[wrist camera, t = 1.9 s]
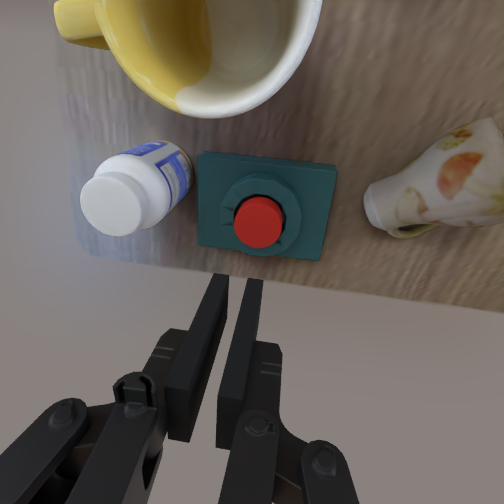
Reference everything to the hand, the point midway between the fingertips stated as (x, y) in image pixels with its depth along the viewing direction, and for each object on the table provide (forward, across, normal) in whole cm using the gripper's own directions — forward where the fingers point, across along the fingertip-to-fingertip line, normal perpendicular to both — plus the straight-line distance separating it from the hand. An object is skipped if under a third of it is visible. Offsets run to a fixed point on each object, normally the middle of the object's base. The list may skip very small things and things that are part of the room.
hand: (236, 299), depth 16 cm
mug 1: (+15, +5, -13) cm, 20 cm away
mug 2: (+15, -13, -3) cm, 20 cm away
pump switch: (+14, 0, 0) cm, 14 cm away
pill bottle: (+15, +9, -2) cm, 17 cm away
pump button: (+11, 0, 0) cm, 11 cm away
